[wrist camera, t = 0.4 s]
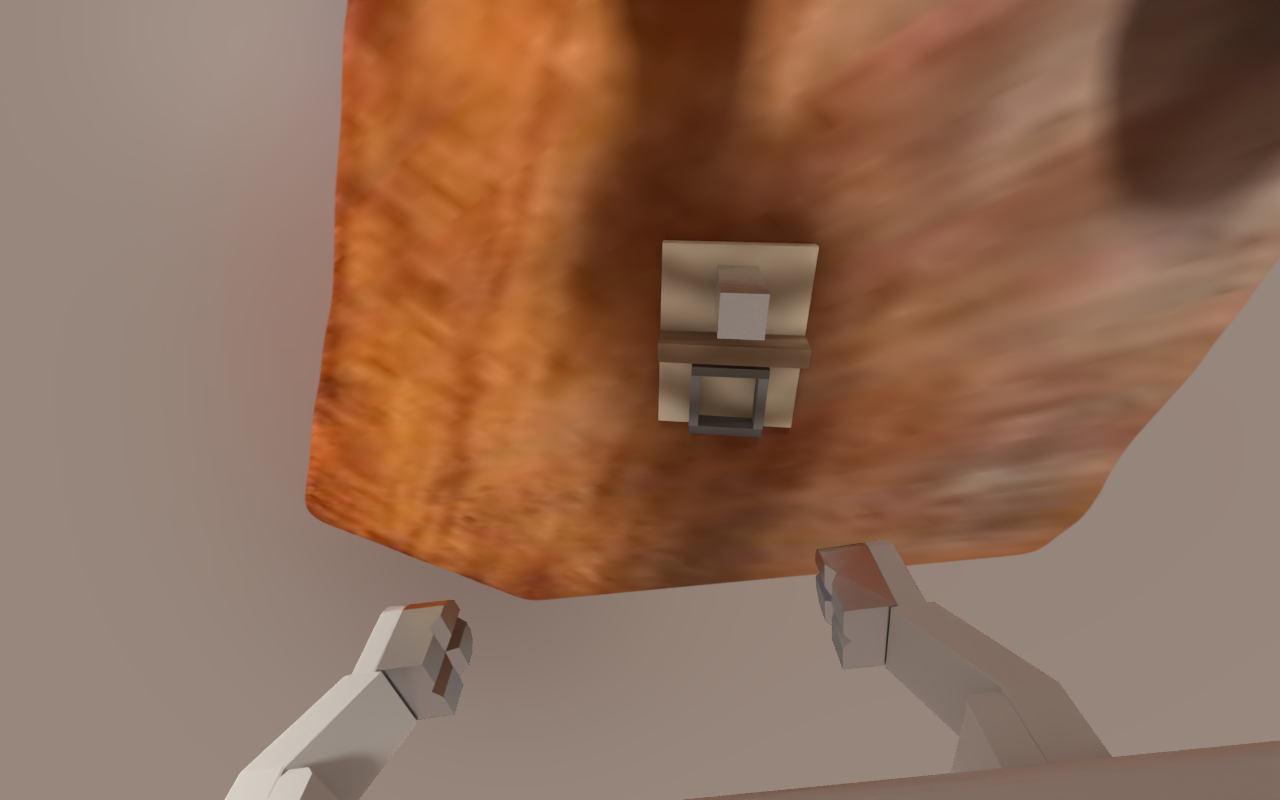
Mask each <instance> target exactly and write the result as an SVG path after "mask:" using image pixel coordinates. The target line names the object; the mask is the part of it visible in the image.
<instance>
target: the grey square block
mask: <svg viewBox="0 0 1280 800" xmlns="http://www.w3.org/2000/svg"><path fill="white" fill-rule="evenodd" d="M769 298H770V293H769V291H768V288H767V286H766V283H765V281H764V279H763V276H762V274H761V271H760V269H759V266H736V265H717V278H716V292H715V316H716V330H717V339H742V340H765V332H766V323H767V315H768V307H769Z"/></svg>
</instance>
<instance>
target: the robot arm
mask: <svg viewBox="0 0 1280 800" xmlns="http://www.w3.org/2000/svg"><path fill="white" fill-rule="evenodd" d="M815 562H816V565H817V567H818V570H819V573H818V574H817V575H816V588H817V593H818V599H819V603H820V606H821V610H822V613H823V616H824V619H825V621H826V622H827V623H829V624H830V625H831V626H832V641H833V644H834V646H835V649H836V652H837V655H838V657H839V660H840V662H841V665H842V668H843V669H851V668H862V667H874V666H885V665H886V669H888V670H889V671H890V672H891V673H892V674H893V675H894V676H895V677H896V678H897V679H898V680H899V681H901V682H902V683H903V684H904V685H905V686H906V687H907V688H908V689H909V690H910V691H911V692H912V693H913V694H914V695H915V696H917V697H918V698H919V699H920V700H921V701H922V702H923V703H924V704H925V705H926V706H927V707H928V708H930V709H931V710H932V711H933V712H934V713H935V714H936V715H937V716H938V717H939V718H940V719H941V720H942V721H943V722H945V723H946V724H947V725H948V726H949V727H950V728H951V729H952V730H953V731H954V732H955V733H956V734H958V736H959V741H958V745H957V749H956V753H955V758H954V762H953V766H952V770H951V773H948V774H938V775H928V776H918V777H908V778H898V779H888V780H879V781H868V782H858V783H849V784H838V785H828V786H817V787H808V788H798V789H787V790H777V791H767V792H757V793H746V794H737V795H727V796H716V797H706V798H696V799H685V800H1280V741H1270V742H1260V743H1250V744H1240V745H1230V746H1220V747H1210V748H1199V749H1189V750H1179V751H1169V752H1159V753H1149V754H1139V755H1129V756H1120V757H1112V756H1111V755H1110V753H1109V752H1108V750H1107V749H1106V748H1105V746H1104V745H1103V744H1102V742H1101V741H1100V739H1099V738H1098V736H1097V735H1096V734H1095V732H1094V731H1093V729H1092V728H1091V727H1090V725H1089V724H1088V723H1087V721H1086V720H1085V719H1084V717H1083V715H1082V714H1081V713H1080V711H1079V710H1078V708H1077V707H1076V706H1075V704H1074V703H1073V701H1072V700H1071V699H1070V698H1069V696H1068V694H1067V693H1066V692H1065V690H1064V689H1063V688H1062V686H1061V685H1060V683H1059V682H1057V681H1056V680H1054V679H1053V678H1051V677H1050V676H1048V675H1047V674H1045V673H1044V672H1042V671H1040V670H1039V669H1037V668H1036V667H1034V666H1033V665H1031V664H1030V663H1028V662H1026V661H1025V660H1023V659H1022V658H1020V657H1019V656H1017V655H1016V654H1014V653H1013V652H1011V651H1009V650H1008V649H1006V648H1005V647H1003V646H1002V645H1000V644H999V643H997V642H996V641H994V640H992V639H991V638H989V637H988V636H986V635H984V634H983V633H982V632H980V631H979V630H977V629H975V628H974V627H972V626H971V625H969V624H968V623H966V622H965V621H963V620H961V619H960V618H958V617H957V616H955V615H954V614H952V613H951V612H949V611H948V610H946V609H944V608H943V607H941V606H940V605H938V604H937V603H935V602H928V603H927V602H926V600H925V599H924V597H923V595H922V593H921V592H920V590H919V588H918V587H917V585H916V583H915V581H914V580H913V578H912V576H911V574H910V573H909V571H908V569H907V567H906V566H905V564H904V562H903V561H902V559H901V557H900V555H899V554H898V552H897V550H896V548H895V547H894V545H893V543H892V542H891V541H889V540H880V541H873V542H866V543H857V544H850V545H843V546H837V547H830V548H823V549H817V550H816V553H815ZM459 611H460V609H459V607H458V606H457V604H456V603H455V601H454V600H446V601H436V602H427V603H419V604H409V605H403V606H393V607H387V608H386V609H385V610H384V611H383V612H382V613H381V615H380V617H379V619H378V621H377V623H376V625H375V627H374V630H373V632H372V634H371V636H370V638H369V640H368V642H367V644H366V646H365V648H364V650H363V652H362V654H361V656H360V658H359V660H358V662H357V664H356V666H355V669H354V671H353V673H352V675H347V676H344V677H343V678H342V679H341V680H340V681H339V682H338V683H337V684H336V685H335V686H334V687H332V688H331V689H330V690H329V691H328V692H327V693H326V694H325V695H324V696H323V697H322V698H321V699H320V700H318V701H317V702H316V703H315V704H314V705H313V706H312V707H311V708H310V709H309V710H308V711H306V712H305V713H304V714H303V715H302V716H301V717H300V718H299V719H298V720H297V721H296V722H295V723H294V724H292V725H291V726H290V727H289V728H288V729H287V730H286V731H285V732H284V733H283V734H282V735H280V736H279V737H278V738H277V739H276V740H275V741H274V742H273V743H272V744H271V745H270V746H269V747H268V748H266V749H265V750H264V751H263V752H262V753H261V754H260V755H259V756H258V757H257V758H256V759H254V760H253V761H252V762H251V763H250V764H249V765H248V766H247V767H246V768H245V769H244V770H243V771H241V773H240V774H239V776H238V777H237V779H236V781H235V783H234V784H233V786H232V788H231V790H230V791H229V793H228V795H227V796H226V798H225V800H359V799H360V797H361V796H362V795H363V793H364V792H365V791H366V790H367V788H368V787H369V786H370V784H371V783H372V782H373V780H374V779H375V778H376V776H377V775H378V774H379V772H380V771H381V770H382V768H383V767H384V766H385V764H386V763H387V762H388V761H389V759H390V758H391V757H392V755H393V754H394V753H395V751H396V750H397V749H398V748H399V746H400V745H401V744H402V742H403V741H404V740H405V738H406V737H407V736H408V734H409V733H410V732H411V730H412V729H413V728H414V727H415V725H416V724H417V720H421V719H428V718H434V717H441V716H448V715H454V714H455V711H456V708H457V704H458V701H459V697H460V694H461V690H462V687H463V683H462V681H461V678H460V674H461V673H462V672H463V671H464V670H465V669H466V668H467V666H468V665H469V662H470V659H471V655H472V642H473V639H472V634H471V630H470V628H469V626H468V624H467V622H465V621H464V620H462V619H460V618H458V614H459Z"/></svg>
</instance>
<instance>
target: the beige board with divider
mask: <svg viewBox="0 0 1280 800" xmlns="http://www.w3.org/2000/svg"><path fill="white" fill-rule="evenodd" d="M818 250H819V246H818V245H817V244H805V243H764V242H723V241H681V240H663V243H662V284H661V326H660V334H659V339H658V349H657V362H660V369H659V412H658V420H659V421H677V422H689V427H688V433H693V434H711V435H728V436H746V437H762V430H763V426H768V427H786V428H791V423H792V417H793V411H794V404H795V398H796V391H797V385H798V378H799V372H800V369H809V367H810V361H811V355H812V348H811V346H810V344H809V342H808V340H807V338H806V336H805V333H806V327H807V321H808V314H809V308H810V301H811V295H812V288H813V282H814V275H815V269H816V263H817V256H818ZM717 265H736V266H759V269H760V271H761V274H762V276H763V279H764V281H765V283H766V286H767V288H768V291H769V293H770V298H769V307H768V315H767V323H766V332H765V340H742V339H717V330H716V316H715V292H716V278H717Z"/></svg>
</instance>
